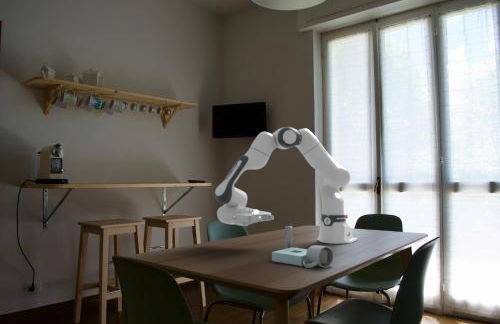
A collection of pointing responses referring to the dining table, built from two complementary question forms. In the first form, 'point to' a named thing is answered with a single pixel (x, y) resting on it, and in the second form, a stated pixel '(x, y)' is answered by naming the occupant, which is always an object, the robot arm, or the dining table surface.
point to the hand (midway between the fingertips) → (266, 218)
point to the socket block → (290, 256)
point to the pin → (289, 237)
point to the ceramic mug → (318, 256)
